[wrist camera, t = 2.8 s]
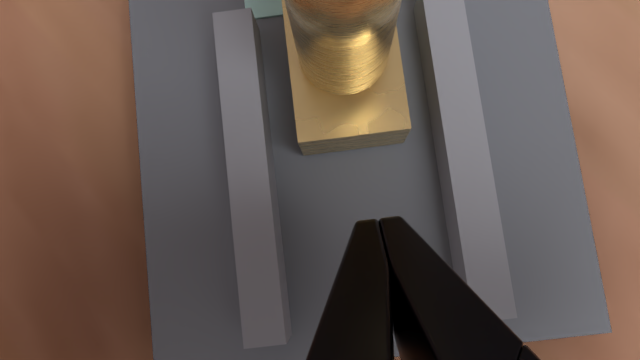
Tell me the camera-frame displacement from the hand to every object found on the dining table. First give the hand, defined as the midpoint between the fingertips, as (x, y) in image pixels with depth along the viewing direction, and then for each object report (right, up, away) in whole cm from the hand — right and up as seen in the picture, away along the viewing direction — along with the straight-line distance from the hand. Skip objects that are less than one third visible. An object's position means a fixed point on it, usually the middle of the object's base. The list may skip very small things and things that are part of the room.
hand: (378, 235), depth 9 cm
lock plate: (0, +5, +9) cm, 10 cm away
